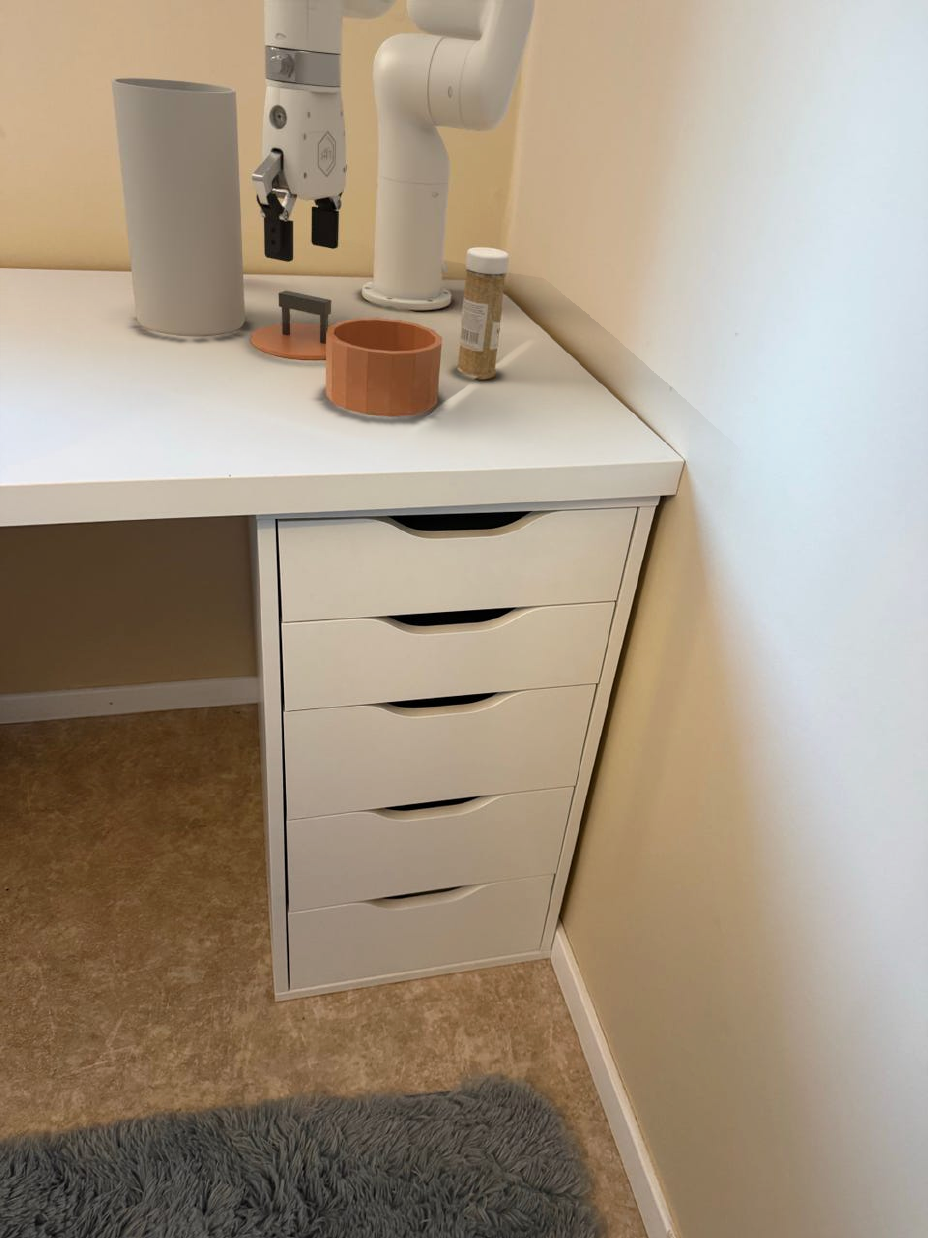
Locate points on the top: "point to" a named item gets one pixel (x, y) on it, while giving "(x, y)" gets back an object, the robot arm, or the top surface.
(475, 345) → the sprinkles bottle
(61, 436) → the top surface
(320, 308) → the lid
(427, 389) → the pot
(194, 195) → the cylinder vase
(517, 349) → the top surface
